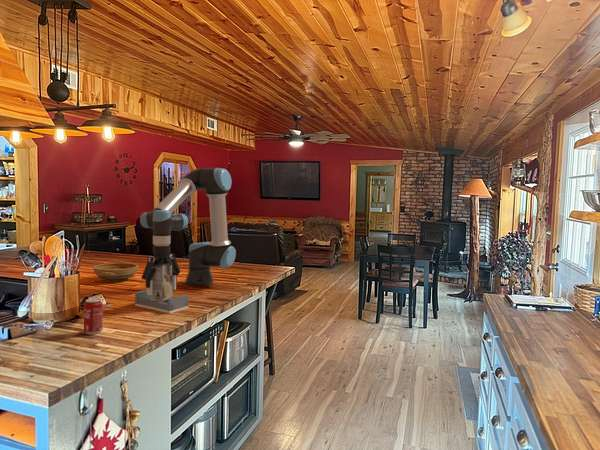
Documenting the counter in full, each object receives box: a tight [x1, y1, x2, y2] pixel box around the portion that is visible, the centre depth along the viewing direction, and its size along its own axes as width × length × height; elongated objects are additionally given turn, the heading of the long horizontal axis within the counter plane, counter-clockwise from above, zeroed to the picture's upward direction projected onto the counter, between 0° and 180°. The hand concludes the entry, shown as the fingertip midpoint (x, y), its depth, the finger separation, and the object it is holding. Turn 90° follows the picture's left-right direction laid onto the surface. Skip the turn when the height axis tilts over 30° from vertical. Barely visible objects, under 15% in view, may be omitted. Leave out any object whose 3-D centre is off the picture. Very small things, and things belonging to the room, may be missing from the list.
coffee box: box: [150, 263, 174, 302], centre depth 197 cm, size 9×6×16 cm
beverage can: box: [83, 298, 104, 335], centre depth 161 cm, size 6×6×12 cm
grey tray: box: [134, 289, 190, 314], centre depth 197 cm, size 11×22×6 cm, turn 60°
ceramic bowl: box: [92, 262, 140, 283], centre depth 252 cm, size 30×24×8 cm
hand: (161, 292), depth 197 cm, fingers open, 13 cm apart
